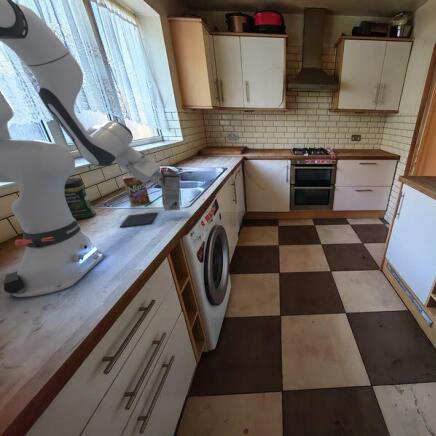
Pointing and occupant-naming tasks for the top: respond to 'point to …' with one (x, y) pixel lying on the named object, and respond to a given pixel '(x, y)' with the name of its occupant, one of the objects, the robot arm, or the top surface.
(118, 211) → the top surface
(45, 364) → the top surface
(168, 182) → the coffee box
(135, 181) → the candy box
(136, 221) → the mat
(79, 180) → the dark green food bag
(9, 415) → the top surface
